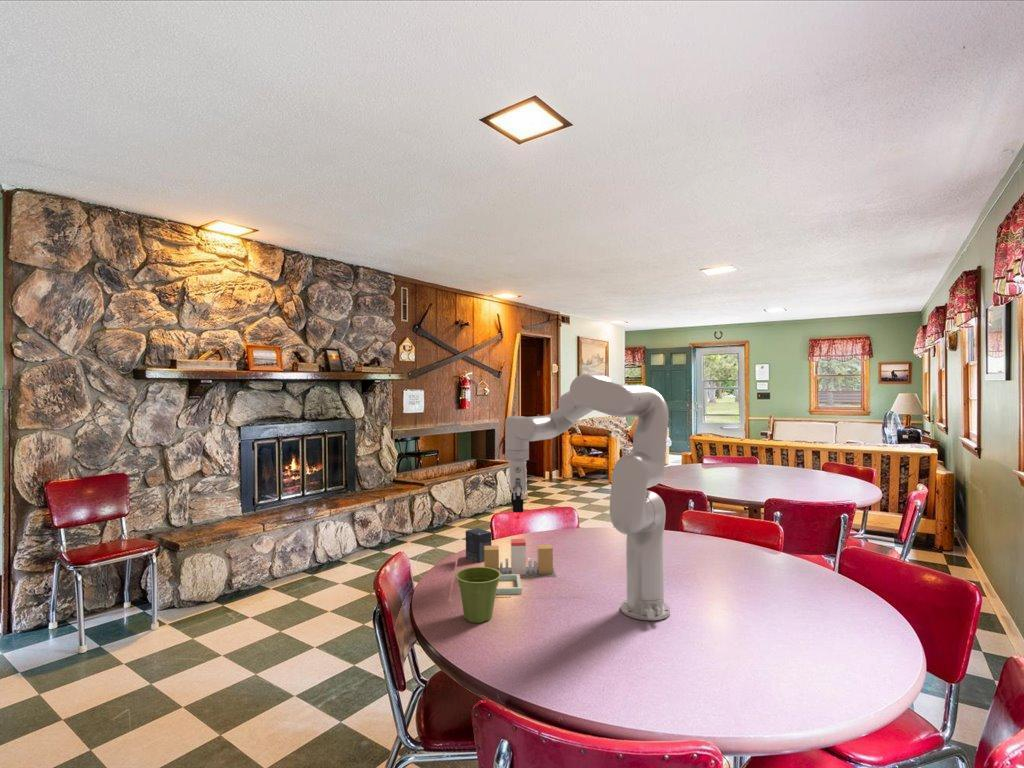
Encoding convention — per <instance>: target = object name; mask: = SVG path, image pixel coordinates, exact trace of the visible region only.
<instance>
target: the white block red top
mask: <svg viewBox="0 0 1024 768" xmlns="http://www.w3.org/2000/svg"><path fill="white" fill-rule="evenodd" d="M526 547H527V544H526V539H525V538H511V539H510V567H511V573H512V574H520V575H526V567H527V555H526V553H527V549H526Z"/></svg>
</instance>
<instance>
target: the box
mask: <svg viewBox="0 0 1024 768" xmlns="http://www.w3.org/2000/svg"><path fill="white" fill-rule="evenodd" d="M484 546H492V532H491V531H489V530H485V529H483V528H478V527H477V528H471V529H466V530H465V558H466V559H467V560H470V561H473V562H475V563H477V564H480V563H484Z"/></svg>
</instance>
